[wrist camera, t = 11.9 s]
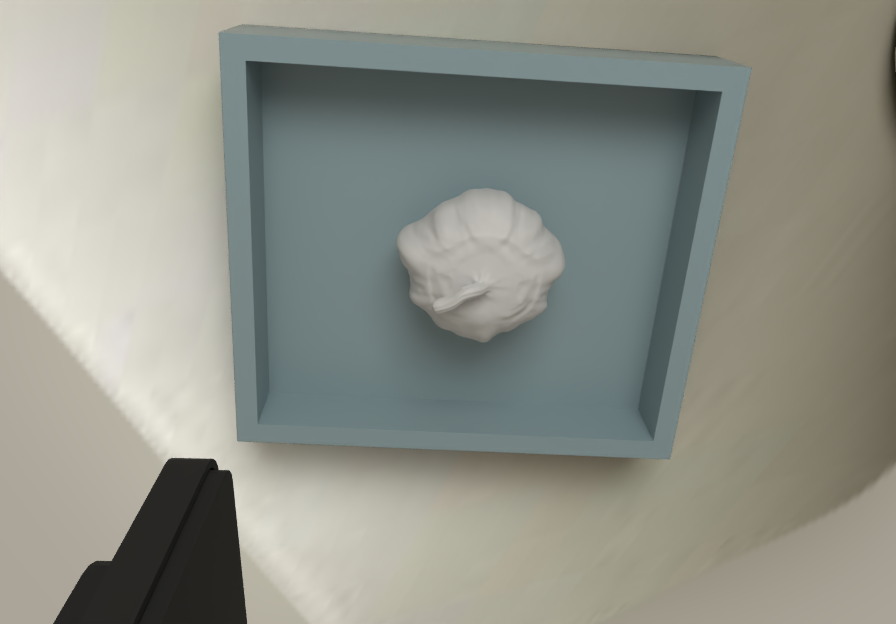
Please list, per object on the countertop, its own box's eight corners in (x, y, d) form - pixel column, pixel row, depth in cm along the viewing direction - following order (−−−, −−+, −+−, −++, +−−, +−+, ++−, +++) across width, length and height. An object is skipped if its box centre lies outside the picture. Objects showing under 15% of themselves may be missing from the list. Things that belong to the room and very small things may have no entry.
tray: (715, 56, 29) (751, 67, 26) (647, 414, 35) (669, 459, 32) (242, 24, 28) (218, 32, 25) (254, 396, 34) (237, 441, 31)
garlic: (393, 304, 32) (387, 365, 27) (401, 169, 29) (396, 209, 25) (544, 314, 32) (565, 375, 27) (563, 181, 30) (589, 222, 25)
